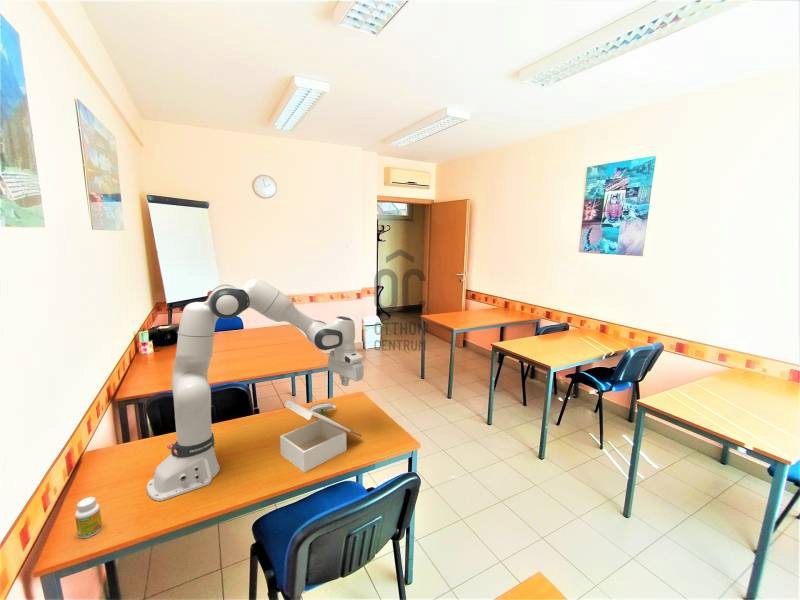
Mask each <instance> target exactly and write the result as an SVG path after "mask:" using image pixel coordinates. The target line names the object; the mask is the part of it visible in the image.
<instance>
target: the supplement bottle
mask: <svg viewBox="0 0 800 600" xmlns="http://www.w3.org/2000/svg"><path fill="white" fill-rule="evenodd" d="M76 505H77V506H76V507H77V510H76V511H75V514H74V517H75V523H76V532H77V537H78V538H79V539H86V538H87V539H88V538H90V537H92V536H94V535H96V534H98V533H99V532H100V531H101V530H102V527H103V524H102V523H103V522H102V515H101V506H100V504H99V503H97V501H96V497H94V496H90V497H89V496H88V497H85V498H83V499H81V500H80V501H79V502H78V503H77V504H76Z"/></svg>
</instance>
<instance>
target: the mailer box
mask: <svg viewBox="0 0 800 600" xmlns="http://www.w3.org/2000/svg"><path fill="white" fill-rule="evenodd" d="M279 441H280V443H279V447H280V455H281V456H282V457H283V458H285V459H286V460H287V461H288V462H290V463H291V464H292V465H294V466H295V467H296V468H297V469H298V470H300V471H301V472H303V473H306V472H309V471H310V470H312V469H314V468H316V467H318V466H320V465H322V464H323V463H325V462H327V461H330V460H331V459H333V458H335V457H337V456H339V455H340V454H342V453H345V452H346V451H347V450H348V449H347V432H346V430H344V429H342V428H340V427H337V426H335V425H333V424H331V423H328V422H326V421H324V420H321V419H318V420H315V421H313V422H310V423H307V424H306V425H303V426H301V427H299V428H296V429H294V430H291V431H289V432H287V433H284V434H281V435H279Z"/></svg>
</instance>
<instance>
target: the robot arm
mask: <svg viewBox="0 0 800 600" xmlns="http://www.w3.org/2000/svg"><path fill="white" fill-rule="evenodd" d="M248 308H250V309H253V310H254V311H256V312H257V313H258V314H261V315H262V316H263V317H266V319H269V320H272V321H274V322H277V323H278V322H279V323H280V322H286V323H289V324H291V325H293V326H294V327H295V328H297V329H299V330H300V331H302V332H303V333H304V334H305V335H306V337H307V339H308V340H309V341H310V342H311V343H312V344H313V345H314V346H315V347H316V348H317V349H318V350H320V351H321V350H322V351H329V350H331V351H330V352H329V355H328V358H327V359H328V360H327V369H328V371H330V372H332V373H334V374H337V375H338V377H339V381H340V385H342V386H345V387H348V386H349V382H350V381H351V380H352V381H354V382H359V381H362V380H363V378H364V363H363V361H364V355H362V354H361V353H360V352H358V350H357V349H356V345H355V340H356V327H355V326H356V325H355V321H354V320H353V319H352V318H350V317H347V316H342V315H341V316H336V317H335V318H334V319H333V320H332V321H330V322H328V323H326V322H325V321H321V320H316V319H313V318H311V317H309V316H308V315H306V314H305V313H304V312H303V311H302V312H301V311H300V310H299V309H298V308H297V307H296V306H295V304H294V302H293V300H291V298H289V297H288V296H287V295H286V294H285V293H284V292H282V291H281V290H279V289H278V288H277V287H275V286H273V285H271V284H269V283H267V282H266V281H264V280H261V279H258V278H251V279H249V280H247V281H246V282H245V283H244V284H243V286H241V287H237V288H236V287H235V286H234V285H230V284H221V285H219V286H216V287H215V288H214V289H213V290H212V291H211V292H210V293H209V294H208V296H207V297H206V298H205V299H204V301H195V302H194V301H193V302H190V303H188V304H186V305H185V306H184V308H183V309H182V310H183V311H182V313H181V317H180V321H179V325H178V333H177V341H176V342H177V343H176V350H175V358H174V359H175V360H174V363H173V369H172V370H173V371H172V378H171V390H172V397H173V407H174V408H173V409H174V421H175V431H176V432H175V433H176V434H175V435H176V442H174V443H173V442H172V441H170V442H168V443H167V444H166V448H167V449H168V450H170V452H171V453H170V454H169V455H168V456H167V457H166V458H165V459H164V460H163V461H162V462H160V463H159V464H158V465H157V466H156V468H155V471H154V475H153V478H152V479H150V480H149V481H148V482H147V484H146V492H147V495H148V496H149V497H150V499H152V500H154V501H157V502H162V501H165V500H169V499H171V498H173V497H177V496H179V495H182V494H186V493H189V492H192V491H194V490H197V489H200V488H203V487H207V486H209V485H210V484H211V482H212V480H213V478H215V476H216V475H217V474H218V473H219V472H220V469H221V466H220V464H219V462H218V459H217V456H216V453H215V452H216V451H215V443H216V442H215V441H216V440H215V435H214V433H213V428H212V427H213V426H212V391H211V385H210V384H209V380H208V372H209V367H210V362H211V360H212V357H213V356H212V355H213V347H214V339H215V328H216V324H217V322H218V319H219V318H220V319H224V320H225V319H227V320H228V319H233V318H236V317H237V316H239V315H241V314H242V312H244V311H246V310H248Z"/></svg>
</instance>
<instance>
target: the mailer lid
mask: <svg viewBox="0 0 800 600" xmlns="http://www.w3.org/2000/svg"><path fill="white" fill-rule="evenodd" d="M284 407H286V408H287V409H289V410H291V411H293V412H294V413H295V414H298V415H299V416H301V418H305V419H306V420H308V421H311V419H312V418H313V417H315V418H317V419H318V420H320V419H321V420H324V421H326V422H328V423H330V424H332V425H334V426H336V427H338V428H339V429H341V430H343V431H347V432H349V433H352V434H353V435H356V436H358V437H362V434H360V433H358V432H356V431H354V430H352V429H351V428H348V427H347V426H345V425H343V424H342V423H340V422H337V421H335V420H334V419H331V418H329V417H327V416H325V415H324V416H323V415H321V413H319V412H318V413H316V412H314V411H311V410H309V409H310V408H307V407H304V406H303V405H300V404H298V403H296V402H293V401H291V400H289V399H287V400H286V402H285V404H284Z"/></svg>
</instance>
